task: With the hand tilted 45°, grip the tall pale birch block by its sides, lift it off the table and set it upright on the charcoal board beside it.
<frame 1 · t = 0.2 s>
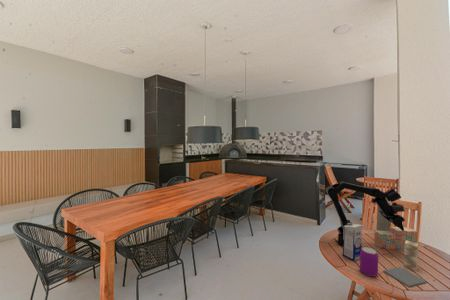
hand: (399, 227, 129), 15 cm above the table, tool tilted 35°, fingers open, 9 cm apart
birch block: (410, 266, 113), on the table
beverage can: (368, 273, 108), on the table
thermos bottle: (383, 234, 152), on the table
milk carton: (351, 257, 122), on the table
stack of blocks: (394, 247, 134), on the table
charcoal board: (404, 277, 104), on the table
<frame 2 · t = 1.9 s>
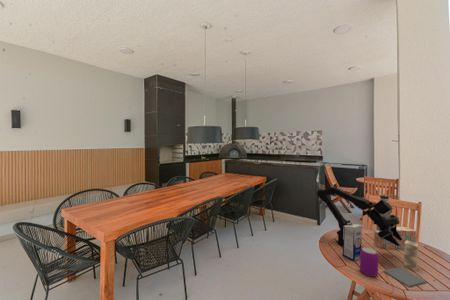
hand: (400, 242, 116), 11 cm above the table, tool tilted 45°, fingers open, 9 cm apart
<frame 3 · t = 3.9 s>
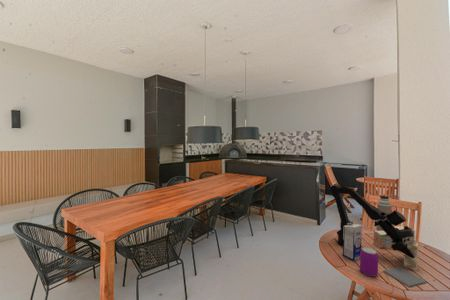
hand: (414, 255, 112), 7 cm above the table, tool tilted 45°, fingers open, 6 cm apart
birch block: (410, 266, 113), on the table, touching gripper
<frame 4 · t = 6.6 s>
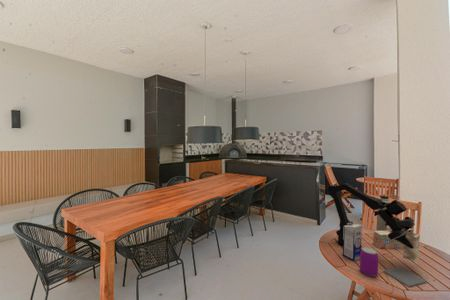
hand: (414, 246, 107), 14 cm above the table, tool tilted 45°, fingers closed on birch block, 5 cm apart
birch block: (410, 258, 109), point 7 cm above the table, touching gripper
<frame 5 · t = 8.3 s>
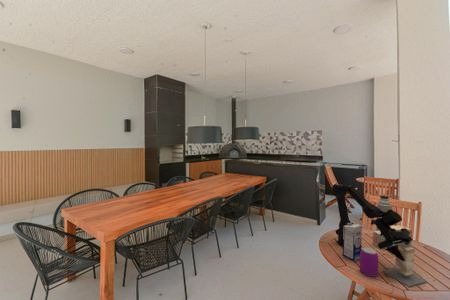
hand: (407, 260, 103), 9 cm above the table, tool tilted 45°, fingers closed on birch block, 5 cm apart
birch block: (403, 271, 104), point 3 cm above the table, touching gripper
when the fingers open (9 cm above the table, at t = 9.3 s): birch block drops 1 cm, resting on charcoal board.
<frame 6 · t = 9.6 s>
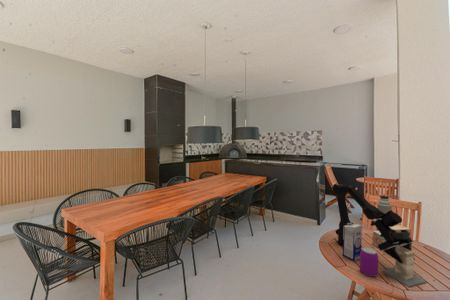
hand: (408, 261, 102), 9 cm above the table, tool tilted 45°, fingers open, 9 cm apart
birch block: (403, 275, 104), point 1 cm above the table, touching charcoal board
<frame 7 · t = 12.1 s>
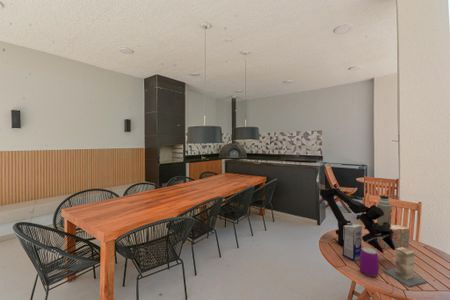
hand: (388, 251, 111), 9 cm above the table, tool tilted 45°, fingers open, 9 cm apart
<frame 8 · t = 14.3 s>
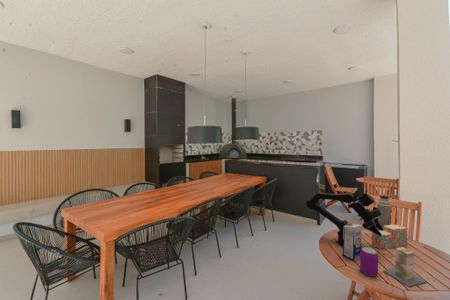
hand: (382, 233, 123), 14 cm above the table, tool tilted 45°, fingers open, 9 cm apart
at the end: birch block inside the target area on the charcoal board (0.1 cm from its centre), point 0.8 cm above the charcoal board's base; birch block tilted 0°; the gripper is holding nothing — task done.
